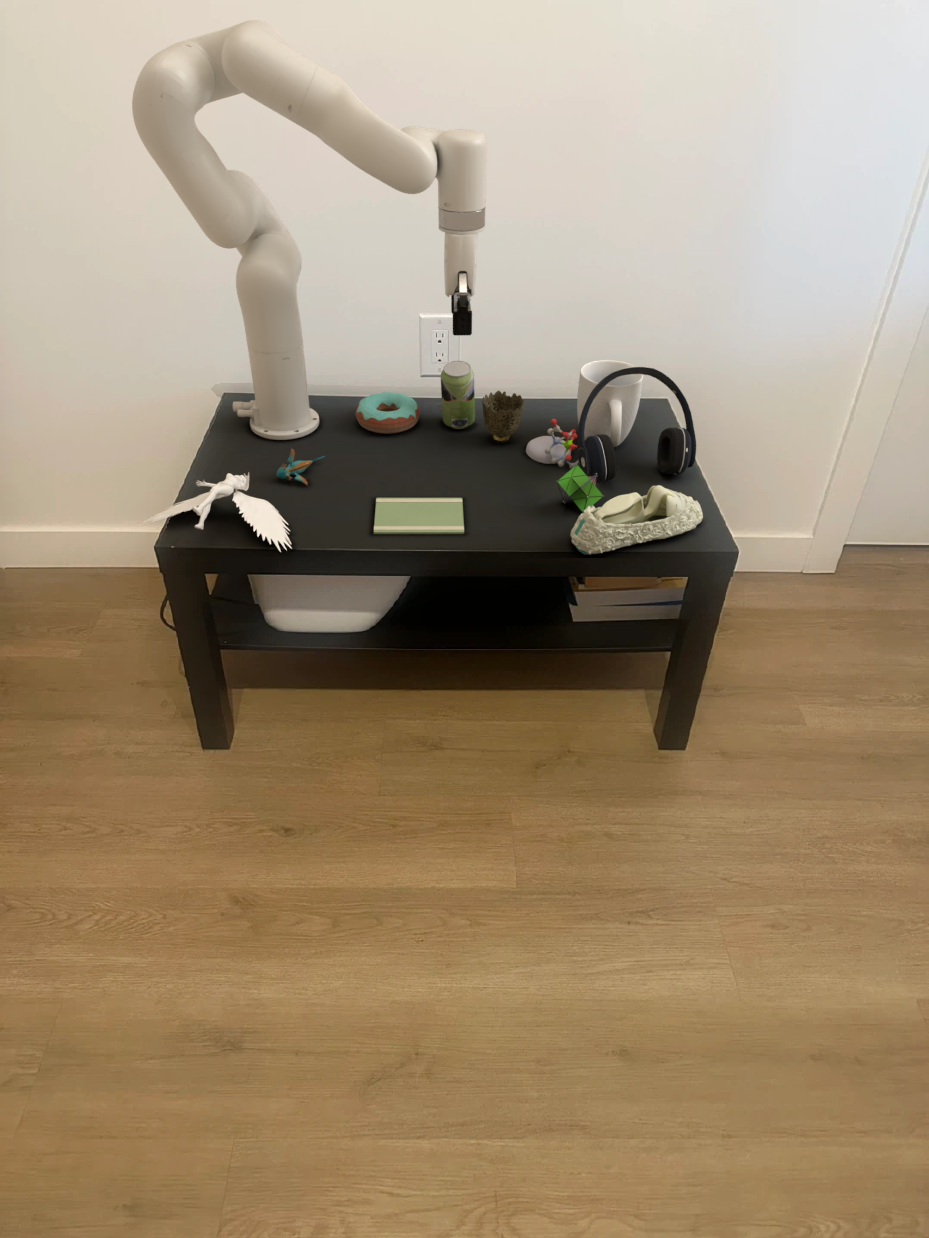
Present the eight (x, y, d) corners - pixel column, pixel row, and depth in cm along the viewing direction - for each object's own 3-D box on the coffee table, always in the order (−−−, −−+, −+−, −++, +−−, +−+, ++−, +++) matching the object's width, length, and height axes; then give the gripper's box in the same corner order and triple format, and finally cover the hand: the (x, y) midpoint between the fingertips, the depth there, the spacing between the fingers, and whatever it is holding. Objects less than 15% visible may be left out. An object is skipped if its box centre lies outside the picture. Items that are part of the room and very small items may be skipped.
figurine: (112, 522, 127) (162, 530, 141) (268, 560, 123) (304, 564, 137) (129, 442, 127) (177, 457, 140) (286, 478, 122) (321, 490, 136)
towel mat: (373, 534, 134) (373, 531, 134) (376, 499, 142) (376, 497, 141) (464, 534, 134) (464, 531, 134) (462, 499, 142) (462, 497, 142)
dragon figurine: (279, 453, 150) (266, 458, 143) (318, 437, 149) (306, 442, 142) (295, 488, 152) (282, 495, 144) (332, 473, 151) (322, 480, 143)
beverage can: (476, 417, 165) (478, 356, 157) (472, 435, 159) (474, 373, 151) (443, 415, 165) (443, 354, 157) (438, 433, 159) (438, 371, 152)
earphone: (684, 473, 152) (678, 366, 149) (702, 472, 146) (697, 360, 143) (576, 484, 149) (568, 375, 146) (589, 484, 142) (581, 369, 139)
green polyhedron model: (591, 466, 133) (576, 451, 140) (557, 495, 135) (544, 478, 142) (617, 498, 137) (601, 481, 144) (583, 526, 138) (569, 508, 145)
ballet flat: (716, 530, 138) (728, 487, 132) (592, 571, 128) (600, 527, 123) (680, 502, 143) (691, 460, 138) (559, 540, 133) (565, 497, 128)
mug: (642, 466, 151) (654, 396, 143) (580, 466, 151) (588, 396, 143) (626, 426, 163) (637, 359, 155) (568, 426, 162) (575, 359, 154)
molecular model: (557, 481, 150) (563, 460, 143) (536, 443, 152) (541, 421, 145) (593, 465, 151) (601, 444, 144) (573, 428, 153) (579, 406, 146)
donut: (350, 412, 165) (349, 392, 163) (411, 405, 168) (411, 386, 165) (362, 441, 157) (361, 421, 154) (426, 433, 159) (426, 413, 157)
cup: (527, 436, 159) (530, 395, 154) (512, 453, 154) (514, 412, 149) (490, 427, 162) (492, 387, 157) (474, 444, 156) (475, 403, 151)
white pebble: (525, 452, 151) (525, 462, 152) (571, 455, 150) (570, 465, 152) (527, 430, 157) (526, 439, 158) (572, 433, 156) (570, 443, 158)
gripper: (437, 204, 145) (438, 306, 156) (439, 234, 132) (440, 343, 143) (482, 203, 146) (480, 305, 156) (488, 234, 132) (485, 343, 143)
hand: (461, 323), depth 150 cm, fingers open, 9 cm apart
